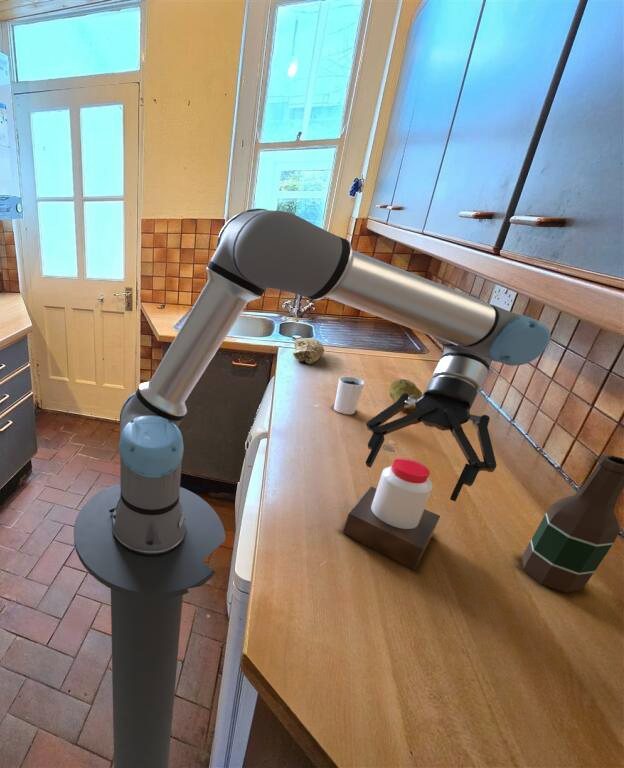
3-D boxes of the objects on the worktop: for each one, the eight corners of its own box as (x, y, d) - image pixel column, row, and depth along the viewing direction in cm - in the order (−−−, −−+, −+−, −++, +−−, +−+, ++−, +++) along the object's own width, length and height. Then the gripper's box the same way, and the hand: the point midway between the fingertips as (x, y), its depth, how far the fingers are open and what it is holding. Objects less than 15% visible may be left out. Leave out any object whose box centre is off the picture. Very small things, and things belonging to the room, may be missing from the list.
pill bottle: (361, 503, 80) (375, 457, 76) (395, 498, 81) (411, 452, 77) (393, 532, 73) (410, 482, 69) (429, 526, 74) (449, 477, 70)
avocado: (392, 414, 123) (400, 391, 120) (383, 397, 134) (390, 374, 130) (425, 419, 120) (433, 395, 117) (413, 401, 131) (420, 378, 128)
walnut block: (342, 532, 80) (348, 513, 78) (365, 504, 87) (370, 486, 85) (414, 570, 72) (422, 549, 70) (432, 535, 79) (440, 515, 77)
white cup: (330, 403, 130) (337, 375, 126) (354, 406, 128) (361, 377, 124) (333, 413, 124) (341, 383, 120) (358, 416, 122) (366, 386, 118)
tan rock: (317, 369, 159) (331, 346, 171) (316, 351, 156) (331, 329, 168) (283, 367, 168) (299, 345, 180) (281, 350, 165) (298, 329, 177)
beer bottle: (588, 581, 69) (667, 465, 59) (572, 602, 66) (652, 483, 56) (528, 550, 75) (590, 441, 65) (511, 568, 72) (573, 455, 62)
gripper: (538, 415, 73) (492, 520, 70) (382, 375, 90) (340, 458, 87) (548, 397, 67) (498, 510, 64) (380, 359, 84) (335, 447, 81)
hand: (407, 481), depth 76 cm, fingers open, 13 cm apart
